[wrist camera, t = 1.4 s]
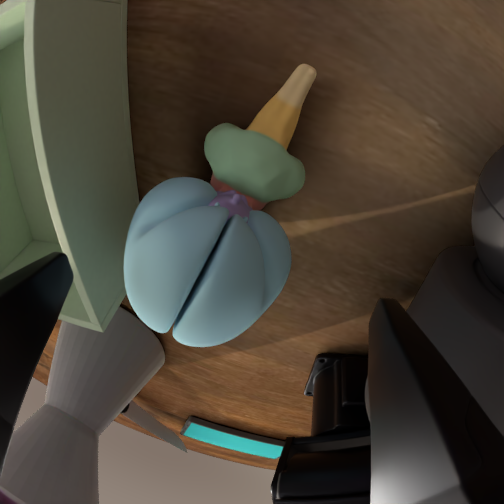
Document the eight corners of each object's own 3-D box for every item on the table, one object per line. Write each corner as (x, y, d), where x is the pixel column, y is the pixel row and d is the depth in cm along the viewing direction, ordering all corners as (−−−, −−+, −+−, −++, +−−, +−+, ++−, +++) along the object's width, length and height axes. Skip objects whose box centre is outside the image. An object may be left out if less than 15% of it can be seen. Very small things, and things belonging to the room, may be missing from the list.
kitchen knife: (194, 436, 40) (190, 453, 37) (187, 436, 40) (183, 453, 38) (75, 350, 30) (65, 369, 27) (71, 351, 30) (60, 370, 28)
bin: (149, 257, 20) (103, 333, 14) (35, 240, 21) (-13, 293, 15) (128, -5, 10) (36, -18, 5) (-2, 45, 11) (-76, 68, 6)
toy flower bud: (464, 149, 5) (232, 410, 11) (371, 107, 13) (255, 281, 19) (171, -18, 4) (72, 335, 10) (238, 34, 12) (150, 229, 18)
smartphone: (188, 420, 33) (297, 449, 35) (190, 415, 34) (297, 443, 35) (179, 434, 38) (275, 459, 39) (181, 429, 38) (275, 454, 40)
